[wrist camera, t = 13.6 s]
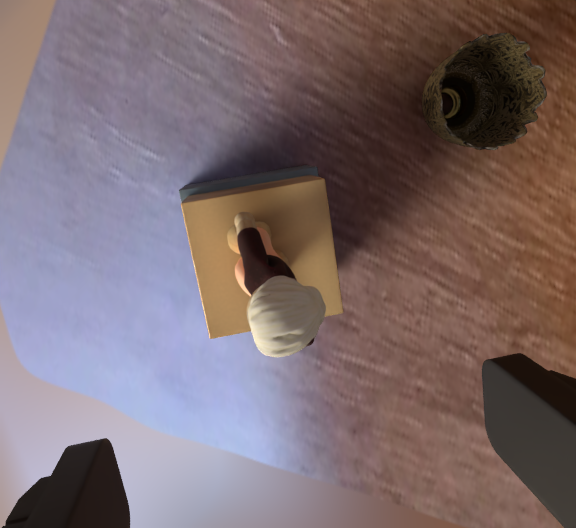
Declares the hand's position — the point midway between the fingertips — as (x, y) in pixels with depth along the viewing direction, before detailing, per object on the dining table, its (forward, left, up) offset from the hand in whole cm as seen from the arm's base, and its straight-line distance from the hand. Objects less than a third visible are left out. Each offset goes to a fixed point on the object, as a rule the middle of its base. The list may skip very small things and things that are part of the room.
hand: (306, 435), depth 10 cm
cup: (+18, +7, -31) cm, 36 cm away
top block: (+1, -1, -26) cm, 26 cm away
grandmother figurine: (0, -1, -21) cm, 21 cm away
